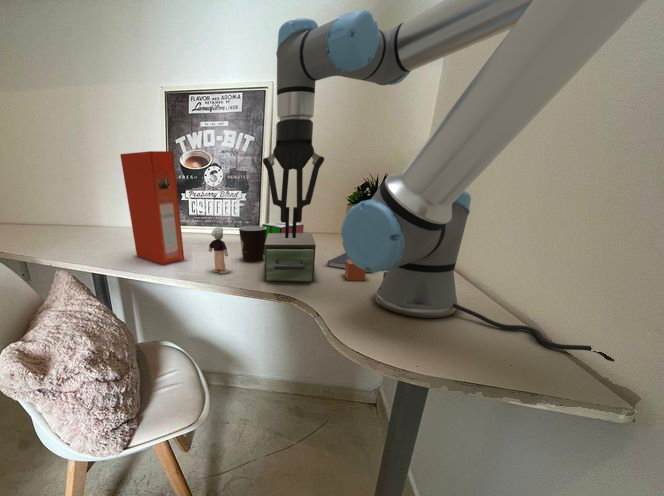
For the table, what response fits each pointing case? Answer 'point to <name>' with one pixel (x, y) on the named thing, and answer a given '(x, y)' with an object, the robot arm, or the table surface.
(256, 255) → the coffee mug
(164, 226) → the file binder
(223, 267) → the grandmother figurine
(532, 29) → the robot arm
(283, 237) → the cabinet
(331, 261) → the notebook
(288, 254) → the drawer
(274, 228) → the puzzle cube
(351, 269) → the block
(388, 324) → the table surface
